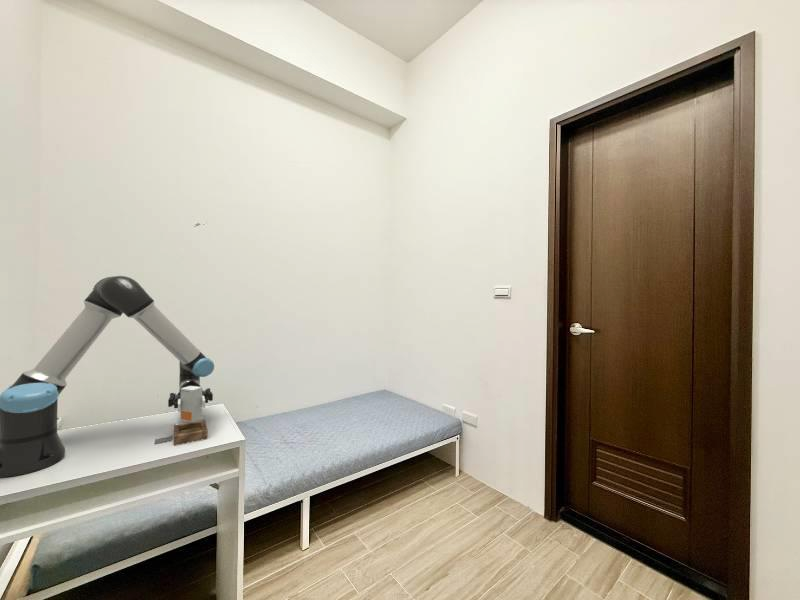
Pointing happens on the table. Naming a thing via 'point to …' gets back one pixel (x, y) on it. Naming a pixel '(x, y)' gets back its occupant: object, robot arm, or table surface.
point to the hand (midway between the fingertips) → (191, 405)
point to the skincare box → (191, 404)
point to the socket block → (190, 432)
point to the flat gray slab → (163, 440)
